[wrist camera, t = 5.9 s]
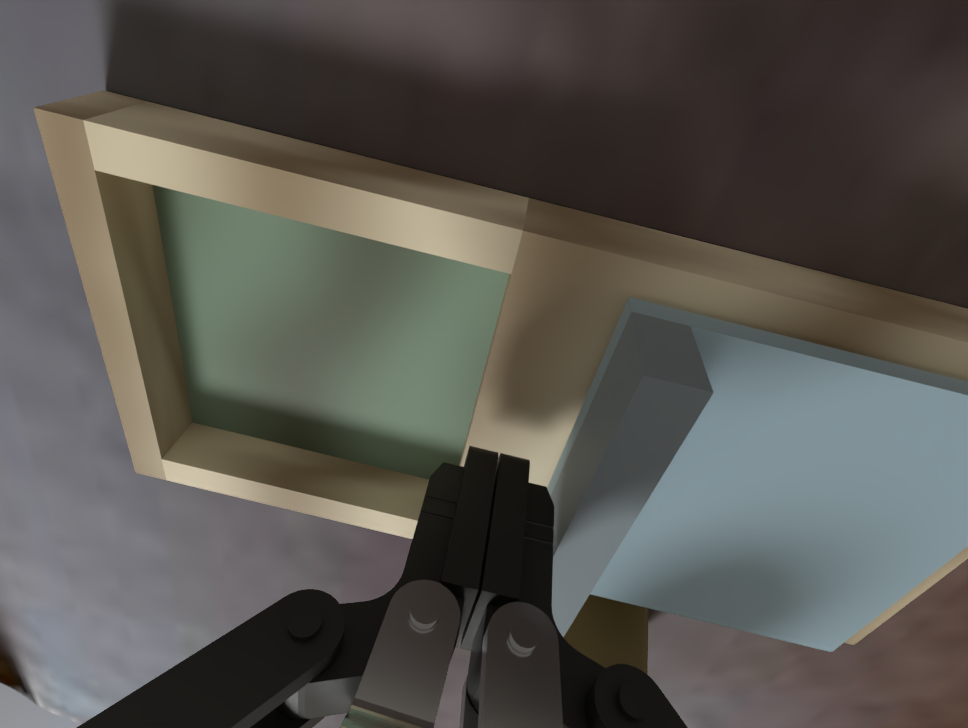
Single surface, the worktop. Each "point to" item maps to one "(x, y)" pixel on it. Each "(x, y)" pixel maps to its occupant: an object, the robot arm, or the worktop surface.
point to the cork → (611, 632)
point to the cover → (756, 480)
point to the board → (386, 310)
